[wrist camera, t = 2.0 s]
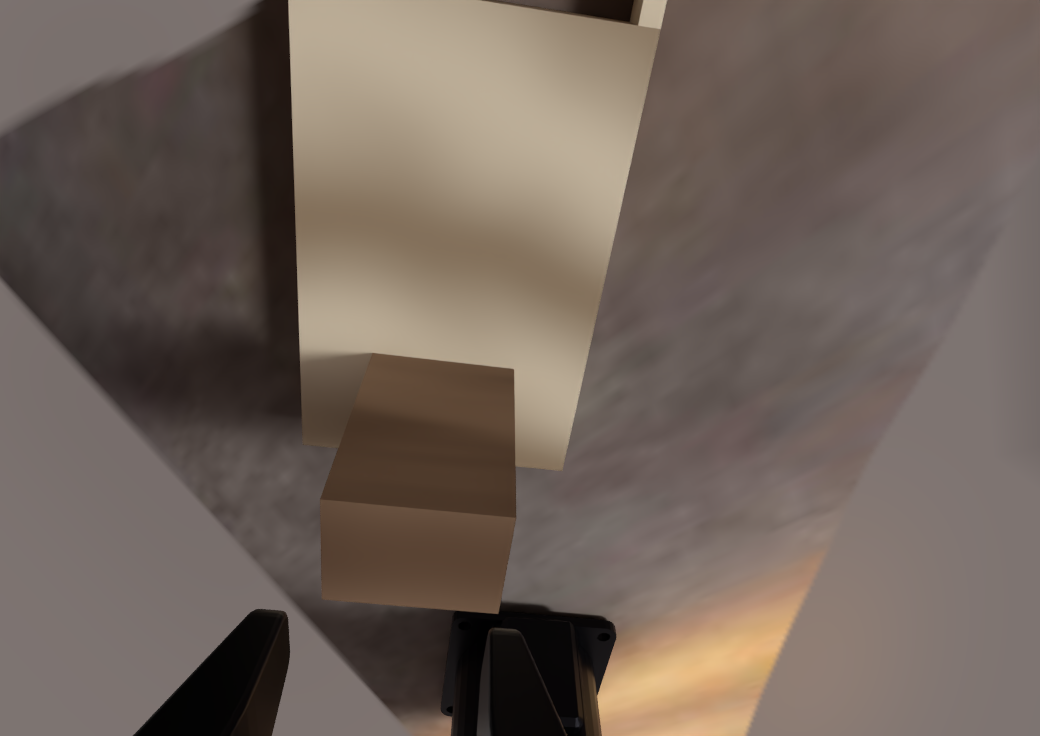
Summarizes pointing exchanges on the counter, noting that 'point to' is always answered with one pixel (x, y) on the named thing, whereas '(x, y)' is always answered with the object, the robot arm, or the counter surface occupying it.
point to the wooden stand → (450, 268)
